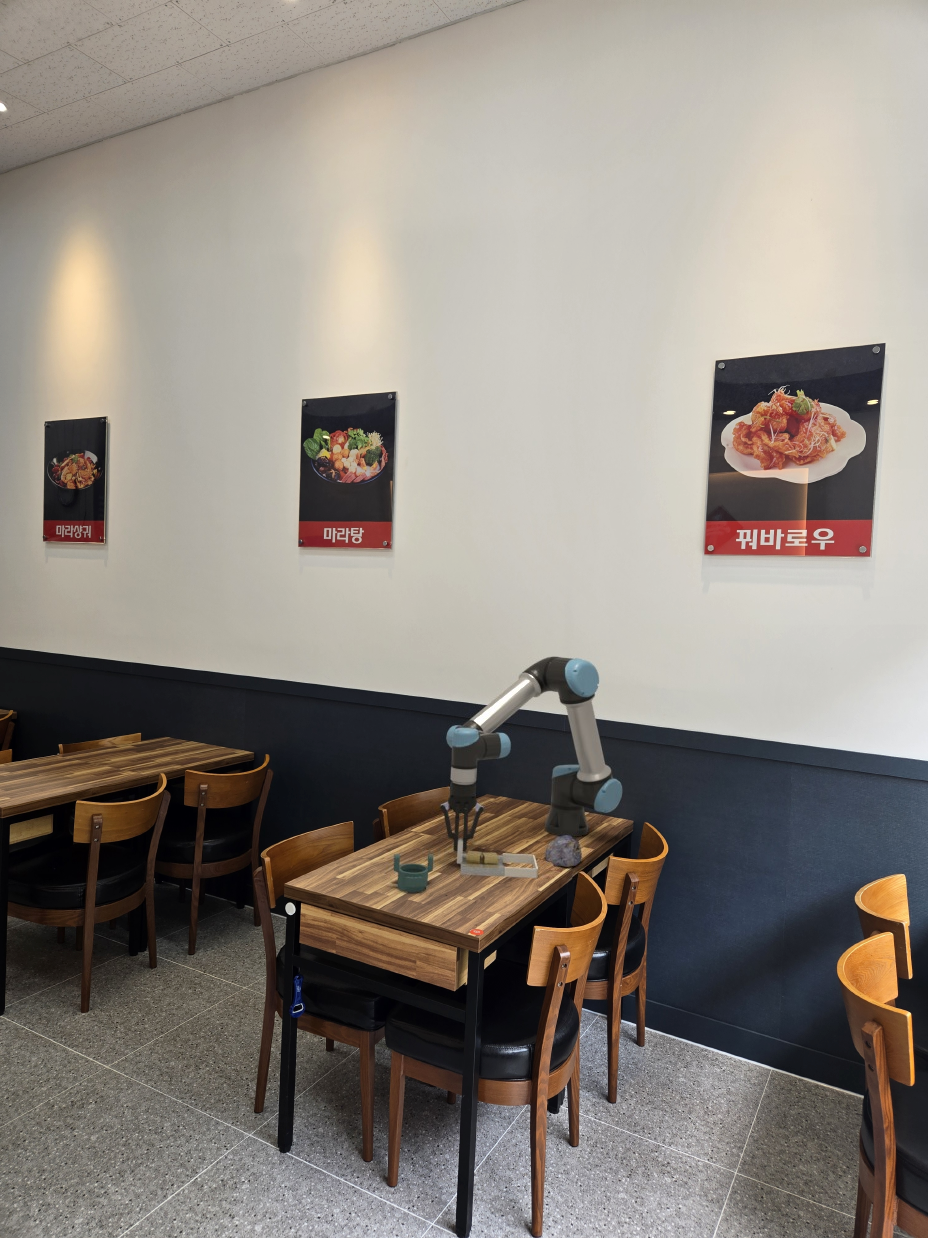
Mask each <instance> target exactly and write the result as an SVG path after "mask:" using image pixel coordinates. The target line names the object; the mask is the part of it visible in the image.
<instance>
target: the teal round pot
mask: <svg viewBox="0 0 928 1238" xmlns="http://www.w3.org/2000/svg"><path fill="white" fill-rule="evenodd" d="M393 854H394V855H393V871H394V872H396V873H397V885H396V887H397V889H398V890H399V891H401V892H405V893H413V894H414V893H421V892H425V891H427V886H428V885H429V884H428V881H429V873H432V872H433V870H434V854H428V855H427V857H428V858H427V866H426V865H425V864H421V863H404V864H403V863H402V864H401V865H400V859H401V855H400V854H399V853H393Z"/></svg>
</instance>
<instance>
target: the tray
mask: <svg viewBox="0 0 928 1238" xmlns="http://www.w3.org/2000/svg"><path fill="white" fill-rule="evenodd" d="M502 855H503V863H507V864H508V863H509V864H510V863H511V864H526V865H527V864H532V867H513V866H512V867H511V866H504V867H505V874H504V876H503V877H504V878H507V877H508V878H525V879H526V878H529V879H538V878H539V867H538V863H537V860H536V856H535V855H534V854H526V853H525V854H524V853H523V854H522V853H503V852H502Z"/></svg>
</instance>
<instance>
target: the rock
mask: <svg viewBox="0 0 928 1238" xmlns="http://www.w3.org/2000/svg"><path fill="white" fill-rule="evenodd" d="M582 856H583V854H582V848H581V845H580V841H579V840H578V839H576V838H575V837H574V836H573V837H572V836H570V835H563V836H560V835H557V837H555V838H554V839H553V840H551V841H550V842H549V843H548V844H547V846H546V849H545V852H544V858H545V860H546V861H547V862H548V863H551V864H552V865H553V866H555V867H559V866H562V867H574V866H577V865H578V864H580V862H581V860H582V858H583V857H582Z"/></svg>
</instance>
